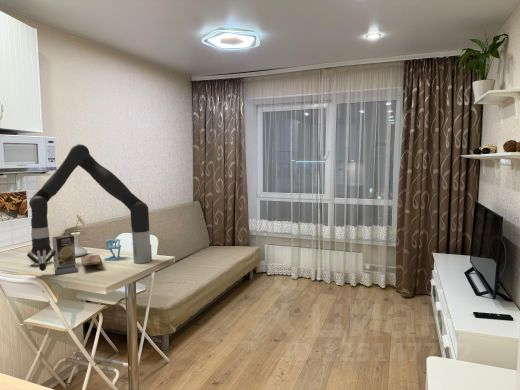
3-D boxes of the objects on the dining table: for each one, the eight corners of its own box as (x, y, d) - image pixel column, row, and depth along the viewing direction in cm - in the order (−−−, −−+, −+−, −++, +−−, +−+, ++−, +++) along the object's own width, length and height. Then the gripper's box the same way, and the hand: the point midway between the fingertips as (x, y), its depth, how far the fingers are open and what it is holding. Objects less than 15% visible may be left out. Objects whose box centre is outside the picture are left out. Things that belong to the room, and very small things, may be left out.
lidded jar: (56, 261, 206) (54, 245, 205) (40, 267, 196) (38, 250, 195) (41, 260, 209) (39, 244, 208) (24, 266, 199) (23, 249, 198)
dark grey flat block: (76, 268, 193) (76, 263, 193) (77, 271, 186) (77, 267, 186) (55, 271, 188) (55, 266, 188) (55, 275, 181) (54, 270, 181)
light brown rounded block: (99, 262, 202) (99, 254, 202) (102, 269, 188) (101, 261, 188) (81, 265, 198) (81, 256, 197) (83, 272, 184) (82, 263, 183)
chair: (123, 256, 214) (122, 236, 213) (117, 260, 206) (116, 239, 205) (110, 257, 215) (109, 236, 214) (104, 260, 206) (102, 239, 205)
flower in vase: (81, 257, 214) (78, 215, 211) (62, 258, 214) (59, 216, 212) (92, 252, 227) (89, 212, 224) (74, 252, 227) (71, 213, 225)
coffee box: (58, 268, 193) (56, 238, 191) (53, 266, 197) (51, 237, 196) (76, 264, 200) (74, 235, 198) (71, 262, 204) (69, 234, 203)
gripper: (55, 233, 187) (58, 266, 188) (25, 236, 181) (28, 270, 182) (55, 236, 180) (57, 270, 182) (24, 239, 174) (26, 274, 176)
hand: (42, 270), depth 182 cm, fingers closed
